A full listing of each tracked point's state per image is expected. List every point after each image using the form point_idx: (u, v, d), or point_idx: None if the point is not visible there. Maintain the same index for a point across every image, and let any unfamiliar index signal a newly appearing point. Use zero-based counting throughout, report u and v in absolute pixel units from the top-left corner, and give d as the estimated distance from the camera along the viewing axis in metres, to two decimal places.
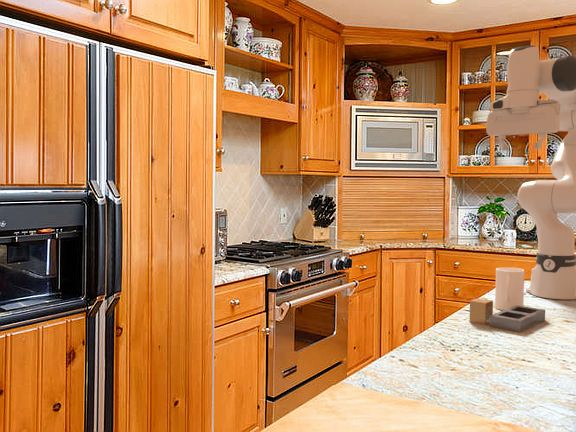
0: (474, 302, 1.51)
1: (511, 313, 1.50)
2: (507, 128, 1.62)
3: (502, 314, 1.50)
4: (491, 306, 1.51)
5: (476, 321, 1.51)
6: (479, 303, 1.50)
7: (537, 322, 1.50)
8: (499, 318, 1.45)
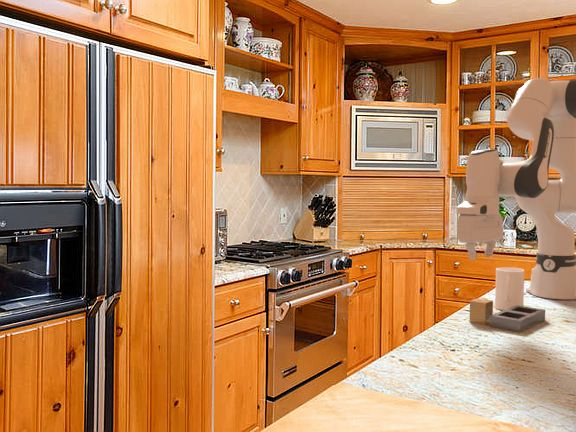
0: (474, 302, 1.51)
1: (511, 313, 1.50)
2: (481, 235, 1.48)
3: (502, 314, 1.50)
4: (491, 306, 1.51)
5: (476, 321, 1.51)
6: (479, 303, 1.50)
7: (537, 322, 1.50)
8: (499, 318, 1.45)
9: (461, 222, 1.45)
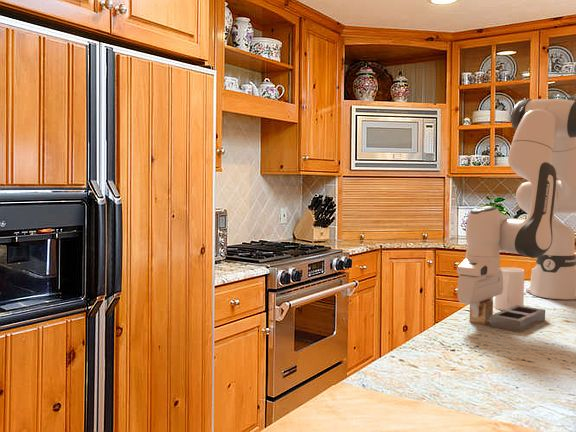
0: None
1: (511, 313, 1.50)
2: (482, 294, 1.48)
3: (502, 314, 1.50)
4: (491, 306, 1.51)
5: (476, 321, 1.51)
6: (479, 303, 1.50)
7: (537, 322, 1.50)
8: (499, 318, 1.45)
9: (461, 283, 1.45)
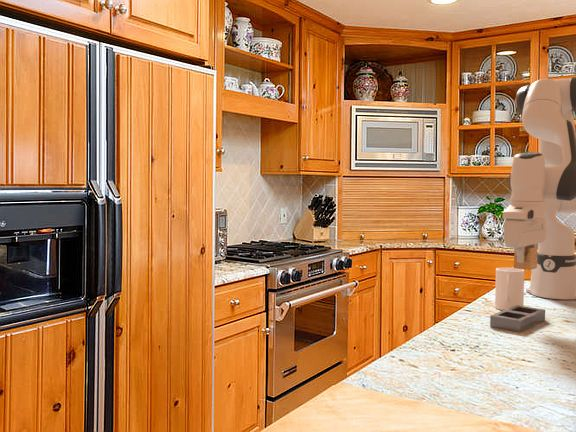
0: None
1: (511, 313, 1.50)
2: (527, 239, 1.48)
3: (502, 314, 1.50)
4: (536, 252, 1.51)
5: (521, 267, 1.51)
6: None
7: (537, 322, 1.50)
8: (499, 318, 1.45)
9: (508, 227, 1.45)
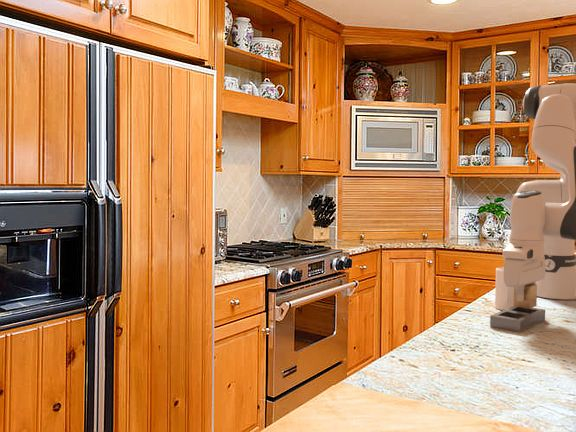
0: None
1: (511, 313, 1.50)
2: (527, 278, 1.49)
3: (502, 314, 1.50)
4: (535, 290, 1.52)
5: (521, 305, 1.51)
6: (524, 287, 1.50)
7: (537, 322, 1.50)
8: (499, 318, 1.45)
9: (507, 267, 1.46)
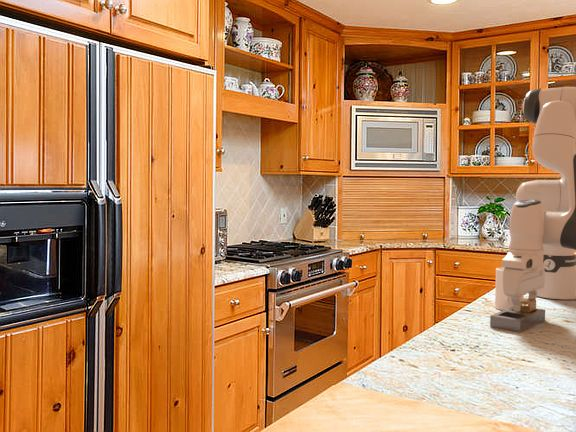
0: None
1: (511, 313, 1.50)
2: (526, 287, 1.49)
3: (502, 314, 1.50)
4: (534, 305, 1.52)
5: None
6: (523, 302, 1.51)
7: (537, 322, 1.50)
8: (499, 318, 1.45)
9: (507, 276, 1.46)
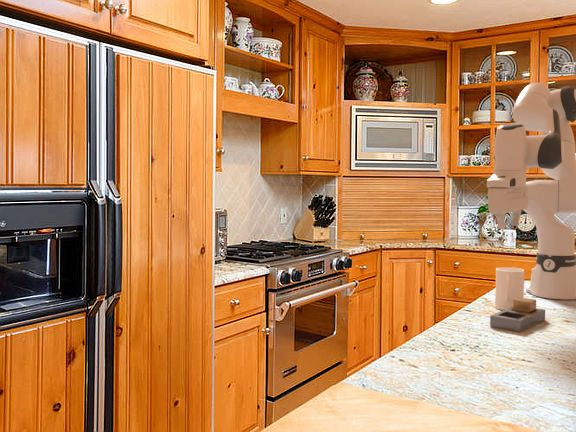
0: (518, 301, 1.52)
1: (511, 313, 1.50)
2: (510, 206, 1.57)
3: (502, 314, 1.50)
4: (534, 305, 1.52)
5: None
6: (523, 302, 1.51)
7: (537, 322, 1.50)
8: (499, 318, 1.45)
9: (491, 195, 1.54)
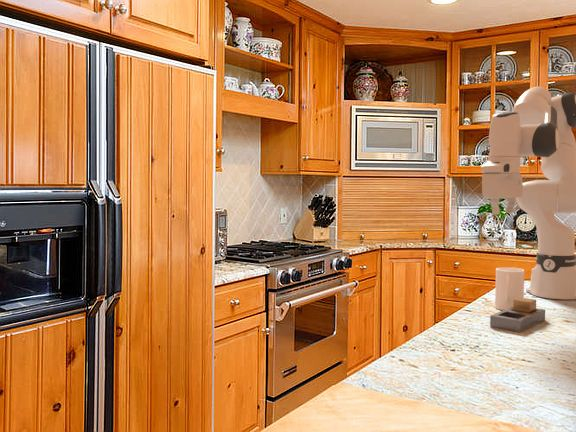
0: (518, 301, 1.52)
1: (511, 313, 1.50)
2: (504, 192, 1.59)
3: (502, 314, 1.50)
4: (534, 305, 1.52)
5: None
6: (523, 302, 1.51)
7: (537, 322, 1.50)
8: (499, 318, 1.45)
9: (486, 180, 1.57)
